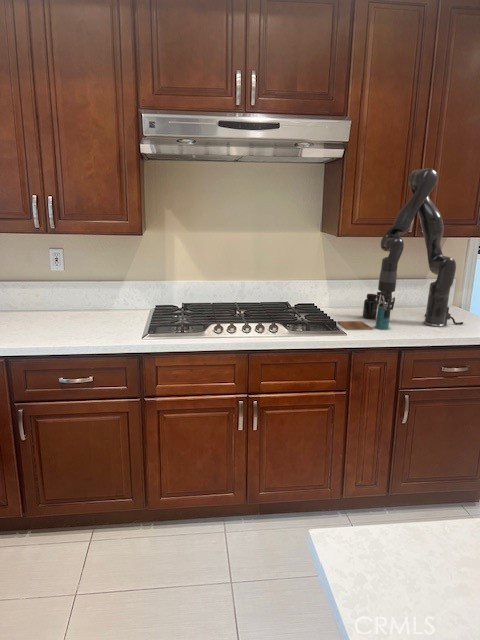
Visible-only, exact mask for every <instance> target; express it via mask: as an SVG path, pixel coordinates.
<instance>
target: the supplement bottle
mask: <svg viewBox="0 0 480 640" xmlns="http://www.w3.org/2000/svg"><path fill="white" fill-rule="evenodd" d="M362 308H363V309H362V318H364V319H367V320H376V319H377V311H378V304H377V293H367V294H366V298H365V299H364V301H363V307H362Z"/></svg>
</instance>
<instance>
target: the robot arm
mask: <svg viewBox="0 0 480 640" xmlns="http://www.w3.org/2000/svg"><path fill="white" fill-rule="evenodd" d="M438 180H439V175H438V172H437V170H435V169H434V168H429V167H427V168H419V169H415V170H413V171H411V172H410V174H409V177H408V184H409V188H410V191H411V194H412V197H411V198H410V199H409V200H408V201H407V202H406V203H405V205H403V207H402V208H401V209H399V211H398V213H397V215H396V216H395V219H394V220H393V221H394V222H393V223H392V225H391V226H390V227H389V229H387V231H386V232H385V233H384V234H383V236H382V238H381V240H380V245H379V246H380V248H381V250H382V251H383V252H388V253H389V254H388V256H385V257H383V258H382V259H381V266H380V273H379V276H378V277H379V278H378V285H377V290H378V291H377V292H376V295H377V299H376V300H377V304H378V306H385V313H384V318H389V315H390V316H391V312H390V310H391V311H393V310H394V307H395V302H396V297H395V296H393V293H395V291H396V287H397V279H398V265H399V261H400V259H401V256H402V254H403V252H404V248H405V241H404V239H403V238H402V237H400V236H401V235H405V234H407V232H408V231H409V229H410V227H411V225H412V223H413V221H414V219H415V217H416V215H417V214H418V217H419V222H420V226H421V227H420V228H421V231H422V235H423V238H424V243H425V248H426V254H427V255H426V256H427V262H428V269H429V271H430V272H431V273H432V274H433V275H436V279H435V281H433V282H430V283H429V290H428V296H427V300H426V301H427V302H426V310H425V314H424V322H423V324H425V325H427V326H431V327H445V326H447V325H448V324H447V323H448V321H449V320H451V321H452V323H453V324H454V325H463V324H464V321H460V322H456V320H455V318H454V317H453V316H451V313H449V311H450V306H449V300H450V299H449V298H450V294H451V288H452V286H453V284H454V281H455V276H456V270H457V261H456V260H455V259H454V258H453V257H450V256H446V255H444V253H443V249H442V244H441V243H442V239H443V235H444V231H445V227H444V221H443V216H442V214H441V211H439V209H438V207H437V206H436V205H435V203H434V202H433V201H432V199H431V197H430V196H429V195H430V194H431V193H432V192H433V190H434V188H435V187H436V185H437V183H438Z"/></svg>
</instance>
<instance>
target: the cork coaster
mask: <svg viewBox="0 0 480 640" xmlns="http://www.w3.org/2000/svg"><path fill="white" fill-rule="evenodd" d="M337 323H338V324H339V325H340V326H342V327H343V328H344V329H346V330H372V329H373V328H372V327H371V326H369V325H368V324H367V323H365V322H363V321H362V320H360V321H359V320H346V321H345V320H344V321H343V320H341V321H340V320H338V321H337Z"/></svg>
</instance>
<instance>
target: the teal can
mask: <svg viewBox="0 0 480 640" xmlns="http://www.w3.org/2000/svg"><path fill="white" fill-rule="evenodd" d="M391 311H392V310H390V313H391ZM384 313H385V306H378V308H377V316H376V319H375V329H378V330H382V331H383V330H385V331H387V330H389V329H390V328H389V327H390V320H391V314H390V315H389V318H384Z"/></svg>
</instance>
